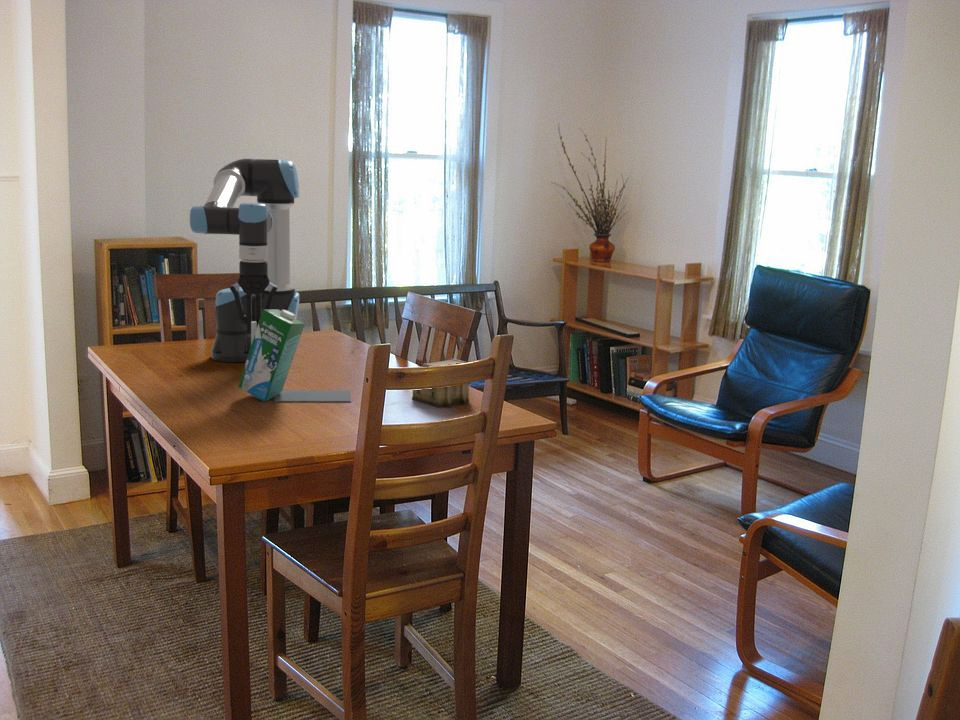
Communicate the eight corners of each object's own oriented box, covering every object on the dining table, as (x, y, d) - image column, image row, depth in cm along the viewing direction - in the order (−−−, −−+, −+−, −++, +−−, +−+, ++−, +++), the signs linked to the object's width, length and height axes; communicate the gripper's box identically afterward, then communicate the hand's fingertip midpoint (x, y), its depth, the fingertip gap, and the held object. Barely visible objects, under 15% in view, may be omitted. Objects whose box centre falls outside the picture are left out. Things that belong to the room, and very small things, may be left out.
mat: (276, 391, 274) (276, 389, 274) (350, 391, 277) (350, 390, 277) (274, 402, 262) (274, 400, 262) (350, 402, 265) (350, 400, 265)
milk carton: (281, 392, 270) (307, 316, 260) (264, 402, 262) (291, 324, 252) (255, 377, 271) (280, 301, 262) (237, 387, 263) (262, 308, 254)
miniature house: (478, 401, 272) (480, 362, 269) (442, 409, 262) (444, 369, 259) (442, 391, 282) (443, 353, 279) (406, 398, 272) (407, 359, 270)
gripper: (227, 261, 254) (229, 347, 259) (277, 262, 256) (277, 348, 261) (230, 258, 261) (231, 342, 266) (278, 259, 263) (278, 342, 269)
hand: (254, 345), depth 264 cm, fingers closed
